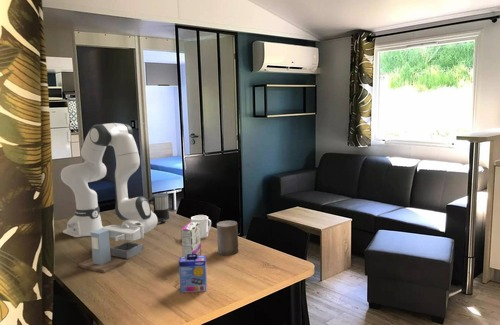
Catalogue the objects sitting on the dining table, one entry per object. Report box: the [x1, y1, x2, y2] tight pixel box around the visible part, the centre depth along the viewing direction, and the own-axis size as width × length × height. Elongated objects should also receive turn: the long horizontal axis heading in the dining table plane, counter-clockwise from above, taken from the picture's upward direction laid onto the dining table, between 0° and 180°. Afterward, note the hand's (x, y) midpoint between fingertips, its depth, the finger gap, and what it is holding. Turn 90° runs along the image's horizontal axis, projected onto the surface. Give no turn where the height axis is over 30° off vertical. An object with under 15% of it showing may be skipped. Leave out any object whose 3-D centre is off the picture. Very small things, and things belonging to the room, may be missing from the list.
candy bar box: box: [180, 221, 202, 257], centre depth 179 cm, size 11×5×16 cm, turn 168°
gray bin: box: [111, 241, 144, 260], centre depth 192 cm, size 10×10×4 cm
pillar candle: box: [216, 220, 240, 256], centre depth 190 cm, size 10×10×15 cm
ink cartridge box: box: [178, 254, 208, 293], centre depth 152 cm, size 10×6×14 cm, turn 95°
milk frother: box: [147, 192, 170, 224], centre depth 246 cm, size 14×16×15 cm
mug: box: [190, 214, 212, 240], centre depth 213 cm, size 11×9×10 cm
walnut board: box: [78, 256, 127, 274], centre depth 179 cm, size 16×12×1 cm
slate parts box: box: [90, 229, 112, 265], centre depth 178 cm, size 5×6×14 cm
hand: (107, 237), depth 181 cm, fingers open, 8 cm apart
